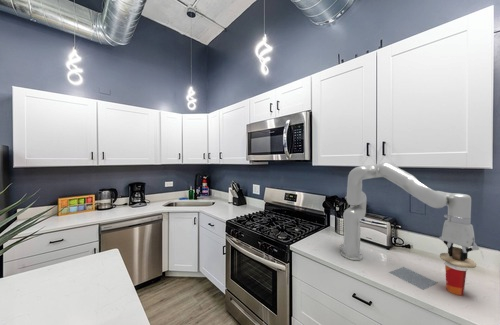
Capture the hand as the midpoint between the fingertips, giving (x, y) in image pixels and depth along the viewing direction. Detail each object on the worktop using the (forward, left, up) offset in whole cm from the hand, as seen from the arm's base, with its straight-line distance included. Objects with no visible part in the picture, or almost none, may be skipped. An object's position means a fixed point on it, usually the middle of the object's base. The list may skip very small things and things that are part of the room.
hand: (457, 257), depth 94 cm
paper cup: (0, 0, -17) cm, 17 cm away
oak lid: (0, 0, -2) cm, 2 cm away
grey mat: (-15, -6, -17) cm, 23 cm away
